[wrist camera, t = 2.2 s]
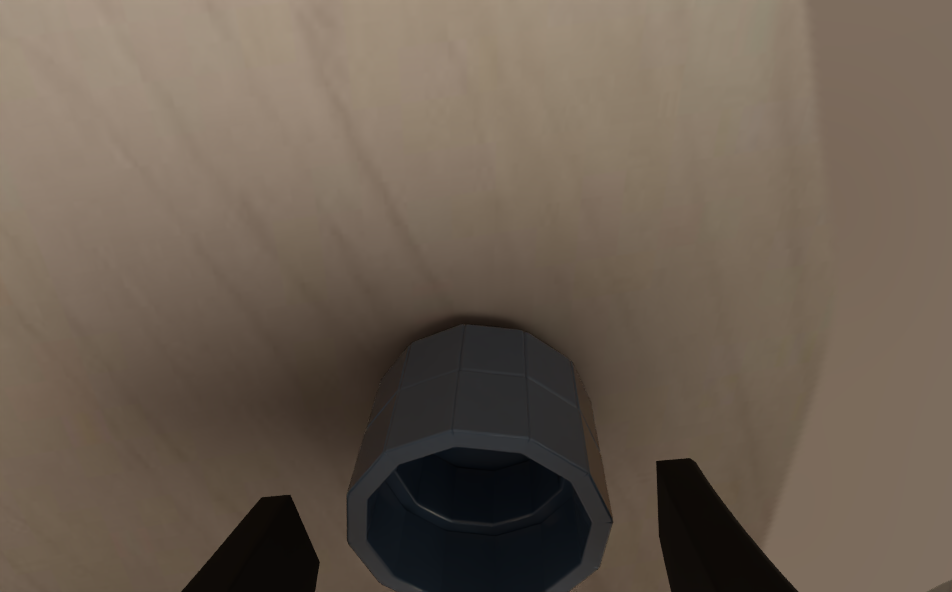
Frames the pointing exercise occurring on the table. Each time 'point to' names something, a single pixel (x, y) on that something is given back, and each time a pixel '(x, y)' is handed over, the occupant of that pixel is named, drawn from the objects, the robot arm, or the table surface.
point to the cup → (480, 469)
